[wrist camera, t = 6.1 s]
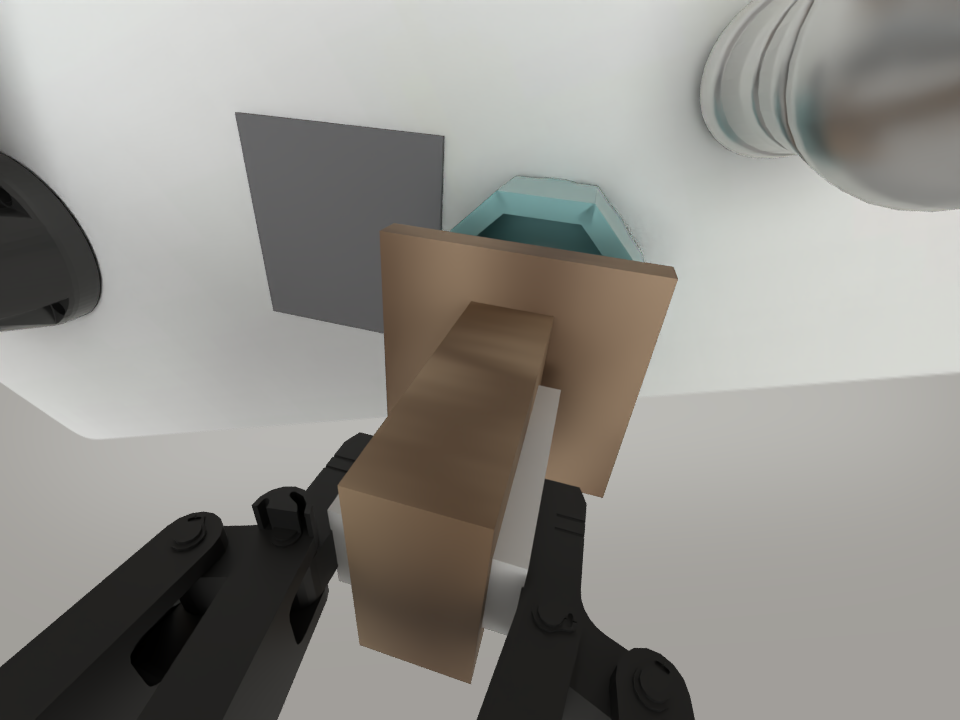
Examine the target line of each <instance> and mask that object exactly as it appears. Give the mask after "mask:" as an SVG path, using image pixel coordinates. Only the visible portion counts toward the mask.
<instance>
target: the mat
mask: <svg viewBox="0 0 960 720" xmlns="http://www.w3.org/2000/svg"><path fill="white" fill-rule="evenodd" d="M235 116H236V121H237V126H238V131H239V136H240V141H241V146H242V151H243V157H244V162H245V167H246V172H247V177H248V182H249V187H250V193H251V198H252V203H253V208H254V213H255V218H256V223H257V228H258V234H259V239H260V244H261V249H262V254H263V259H264V264H265V270H266V275H267V280H268V285H269V290H270V295H271V300H272V305H273V311H277V312H282V313H287V314H291V315H296V316H301V317H306V318H311V319H316V320H321V321H326V322H330V323H335V324H340V325H345V326H350V327H355V328H360V329H365V330H369V331H374V332H379V333H384V322H383V300H382V277H381V255H380V232H379V231H380V230H382V229H384V228H386V227H388V226H389V225H391V224H393V223H397V224H403V225H410V226H416V227H422V228H429V229H435V230H441V224H442V192H443V161H444V136H440V135H431V134H422V133H413V132H405V131H396V130H387V129H378V128H370V127H361V126H352V125H343V124H335V123H326V122H317V121H309V120H300V119H291V118H282V117H274V116H265V115H256V114H247V113H239V112H236V113H235Z"/></svg>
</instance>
